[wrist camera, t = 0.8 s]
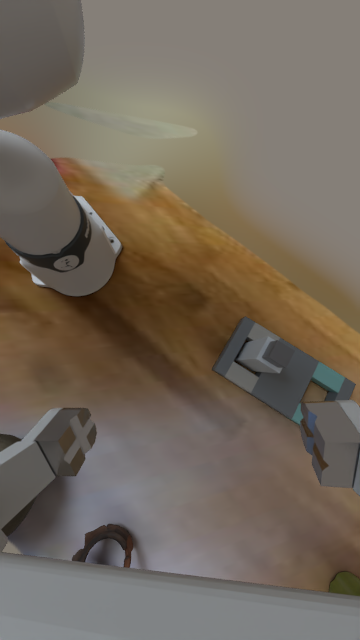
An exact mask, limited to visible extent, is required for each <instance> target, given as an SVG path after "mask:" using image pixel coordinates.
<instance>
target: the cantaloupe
mask: <svg viewBox="0 0 360 640" xmlns="http://www.w3.org/2000/svg"><path fill="white" fill-rule="evenodd" d="M21 441H22V440H21V439H19V438H17V437H15V436H12V435H6V434H0V452H1V451H3V450H4V449H6V448H8V447H9V446H11V445H13V444H14V443H16V442H21ZM35 498H36V497H35ZM35 498H33V499H32V500H31V501H30V502H29V503H28V504H27V505H26V506H25V507H24V508H23V509H22V510H21V511H20V512H19V513H18V514H17V515H15V516H14V517H13V518H12V519H11V520H10V521H9V522H8V523H7V524H6V525H5V526H4V527H3V528H2V529H1V530H2V531H3V533H4V534H5V535H6V536H7V537H8V536H9V535H10V534H11V533H12V532H13V531H14V530H15V529H16V528H17V527H18V526H19V525H20V523H21V522H22V521H23V520H24V518H25V517H26V515H27V514H28V512H29V510H30V509H31V507H32V505H33V503H34V501H35Z"/></svg>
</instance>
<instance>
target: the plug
mask: <svg viewBox="0 0 360 640" xmlns="http://www.w3.org/2000/svg"><path fill="white" fill-rule="evenodd" d="M294 352H295V350H293V349H291V348H290V347H288V346H287V345H285V344H283V343H282V342H280V341H278V340H276V341H275V340H274V339H272V338H270V337H269V336H268V337H264V338H261V339H257V340H253V341H250V342H246V343H244V345H243V346H242V348H241V350H240V352H239V353H238V355H237V357H236V359H235V361H237V362H238V363H240V364H242V365H243V366H245V367H246V368H248V369H250V370H251V371H256V372H268V373H280V372H281V370H282V368H287V366H288V364H289V362H290V360H291V358H292V356H293V354H294Z"/></svg>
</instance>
